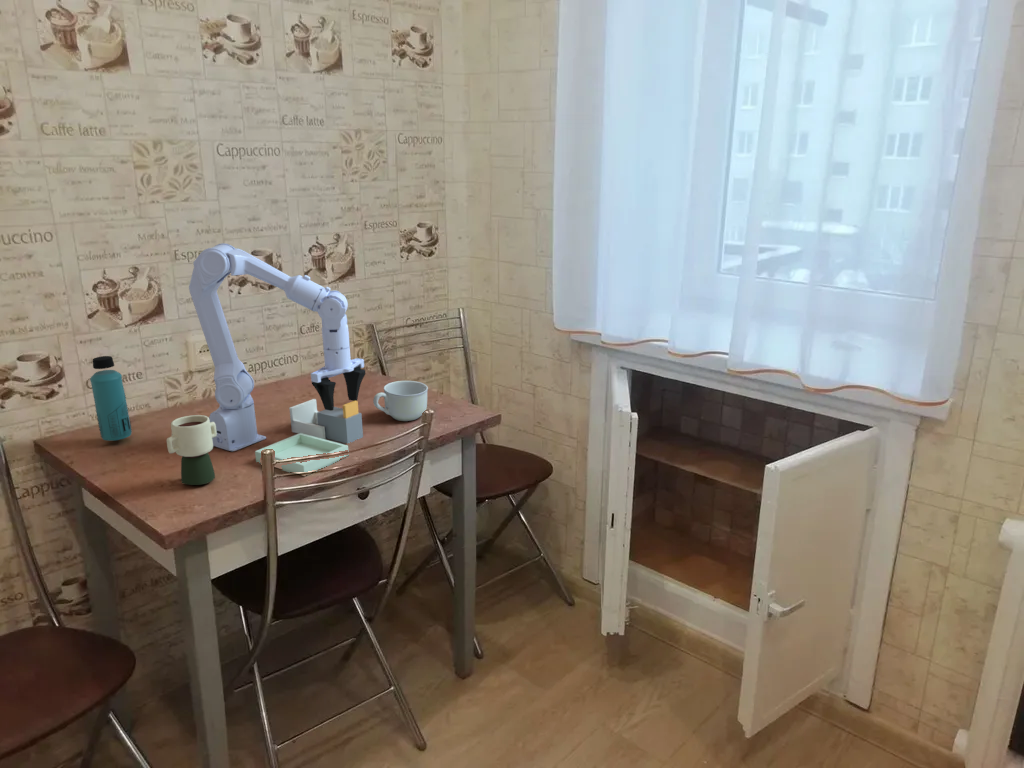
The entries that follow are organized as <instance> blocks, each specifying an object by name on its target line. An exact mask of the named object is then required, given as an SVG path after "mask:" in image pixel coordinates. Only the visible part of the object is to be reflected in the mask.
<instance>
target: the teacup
mask: <svg viewBox="0 0 1024 768" xmlns="http://www.w3.org/2000/svg"><path fill="white" fill-rule="evenodd" d="M428 390H429V387H428V385H427V384H425V383H423V382H421V381H416V380H397V381H393V382H388V383H386V385H384V386H383V391H384V392H377V393H376V394H375V395H374V397H373V403H372V404H373V405H374V407H375V408H376V409H378V410H379V411H381V412H384V413H385V414H386V415H389V416H390V417H391V418H393V419H394V420H396V421H401V422H408V421H409V422H410V421H416V420H417V419H419V418H420V417H421V416H423V415H422V413H423V412H424V411H425V410H427V409H428ZM380 398H384V407H383V406H381V405H380V403H379V400H380ZM425 412H426V411H425ZM425 412H424V413H425Z"/></svg>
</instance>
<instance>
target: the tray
mask: <svg viewBox="0 0 1024 768" xmlns="http://www.w3.org/2000/svg"><path fill="white" fill-rule="evenodd" d="M264 449H273V450H274V451H275V459H276V460H283V459H287V458H291V457H303V456H308V455H316V454H323V453H326V454H327V453H334V452H339V451H345V450H348V451H349V444H345V443H341V442H338V441H334V440H330V439H322V438H318V437H314V436H310V435H307V434H303V433H299V434H298V433H295V434H294V435H292V436H289V437H287V438H284V439H282V440H279V441H276V442H274V443H272V444H270V445H268V446H265V447H262V448H260V449H257V450H255V451H254V455H255V462H256V463H257V462H259V463H258V464H261V463H260V458H261V451H262V450H264ZM349 454H350V453H349ZM349 454H348V455H344V456H339V457H335V458H329V459H320V460H310V461H307V462H302V463H300V462H296V463H292V464H287V465H282V466H281V467H282V469H283V470H282V471H284V472H287V473H290V472H308V471H312V470H318V469H321V468H323V469H325V468H327V467H329V466H332V465H334V464H336V463H338V462H340V461H341V460H340V458H342V457H346V456H348V457H349V456H350V455H349ZM346 458H347V457H346ZM339 460H340V461H339ZM337 461H338V462H337ZM335 462H336V463H335ZM333 463H334V464H333ZM326 466H327V467H326ZM324 467H325V468H324ZM321 470H322V469H321Z"/></svg>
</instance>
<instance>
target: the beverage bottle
mask: <svg viewBox="0 0 1024 768" xmlns="http://www.w3.org/2000/svg"><path fill="white" fill-rule="evenodd" d="M113 367H115V363H114V359H113V356H109V355H103V356H101V355H100V356H97V357H94V358H93V359H92V368H93V369H95V370H98V371H95V373H93V375H91V376H90V378H89V380H90V381H89V382H90V385H91V389H92V390H91V391H92V395H93V401H94V407H95V412H96V420H97V423H98V430H99V434H100V437H101V439H102V440H103V441H108V442H110V441H119V440H124V439H127V438H129V437H130V436H132V431H133V430H132V425H131V424H132V422H131V419H130V414H129V412H130V410H129V408H128V403H127V397H126V395H127V394H126V391H125V388H124V383H123V376H122V374H121V373H120V372H119V371H117V370H114V369H110V368H113ZM103 369H104V370H103ZM99 370H100V371H99Z"/></svg>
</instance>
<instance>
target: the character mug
mask: <svg viewBox="0 0 1024 768" xmlns="http://www.w3.org/2000/svg"><path fill="white" fill-rule="evenodd" d="M209 417H210V416H207V415H201V414H195V415H185V416H181V417H177V418H175V419H173V420H172V421H171V422H170V429H171V436H169V437H167V438H166V446H167V451H168V453H169V454H174V453H176V455H178V456H181V459H180V460H181V461H180V478H181V479H180V480H181V484H183V485H190V486H201V485H206V484H208V483H210V482H213V481H214V479H215V478H216V475H215V474H216V473H215V470H214V466H213V463H212V458H211V456H210V454H209V452H211V451H213V449H214V446H213V441H212V438H214V437H216V436H217V431H216V424H215V422H210V420H209ZM211 432H212V433H211Z"/></svg>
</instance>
